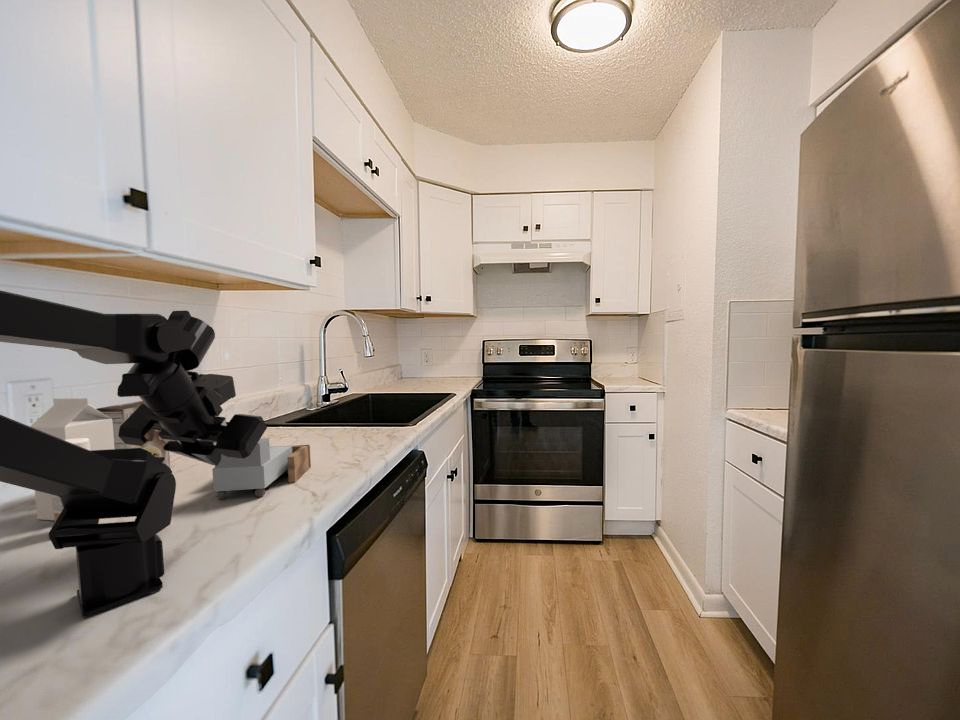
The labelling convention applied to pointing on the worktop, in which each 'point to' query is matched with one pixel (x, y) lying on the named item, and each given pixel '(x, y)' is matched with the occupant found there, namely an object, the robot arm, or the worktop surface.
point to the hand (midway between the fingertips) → (217, 462)
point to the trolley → (251, 469)
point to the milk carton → (72, 435)
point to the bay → (298, 462)
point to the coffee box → (153, 442)
